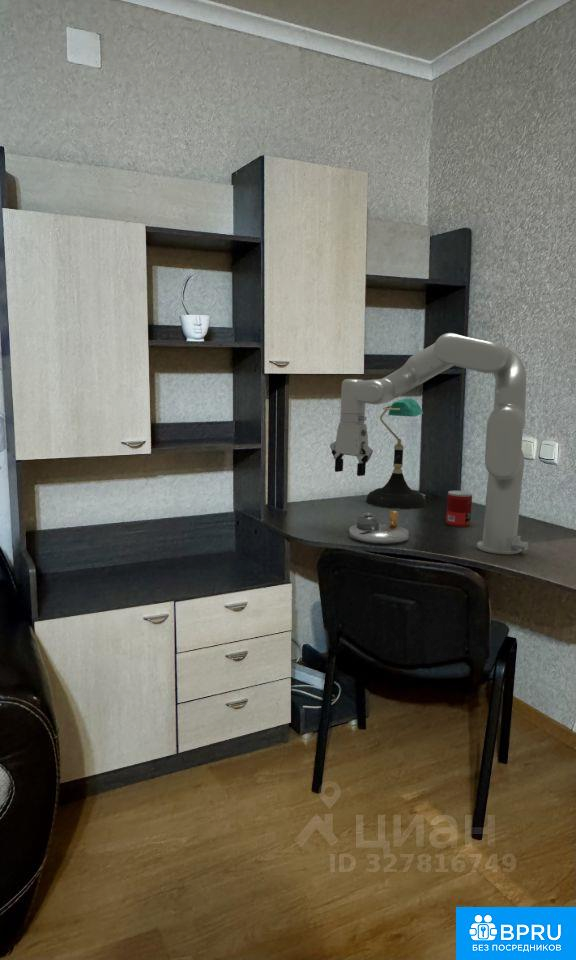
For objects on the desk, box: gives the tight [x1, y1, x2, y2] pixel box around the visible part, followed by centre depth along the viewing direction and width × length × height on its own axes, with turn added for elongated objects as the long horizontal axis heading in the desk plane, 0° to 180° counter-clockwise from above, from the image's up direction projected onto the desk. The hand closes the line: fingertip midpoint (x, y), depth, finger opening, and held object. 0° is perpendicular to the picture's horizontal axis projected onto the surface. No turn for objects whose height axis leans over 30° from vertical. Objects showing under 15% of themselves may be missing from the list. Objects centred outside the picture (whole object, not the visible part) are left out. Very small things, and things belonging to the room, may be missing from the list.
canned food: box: [445, 490, 473, 528], centre depth 234 cm, size 8×8×11 cm
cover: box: [355, 511, 380, 530], centre depth 216 cm, size 7×7×4 cm
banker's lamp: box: [365, 397, 427, 510], centre depth 266 cm, size 26×23×40 cm
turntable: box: [348, 510, 409, 544], centre depth 212 cm, size 18×18×7 cm
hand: (349, 473), depth 219 cm, fingers open, 9 cm apart
